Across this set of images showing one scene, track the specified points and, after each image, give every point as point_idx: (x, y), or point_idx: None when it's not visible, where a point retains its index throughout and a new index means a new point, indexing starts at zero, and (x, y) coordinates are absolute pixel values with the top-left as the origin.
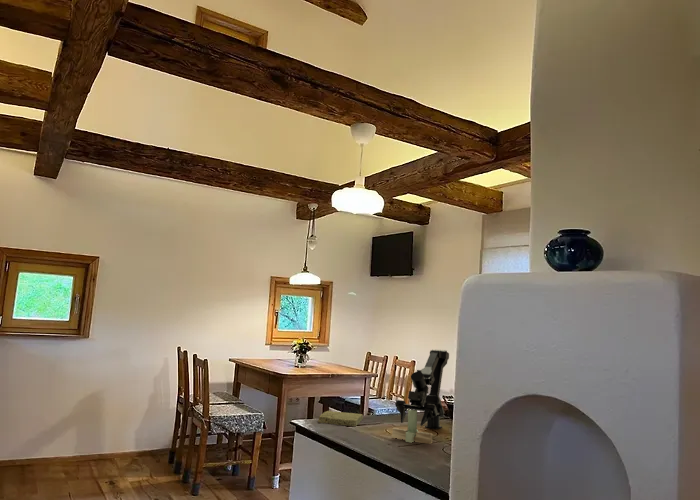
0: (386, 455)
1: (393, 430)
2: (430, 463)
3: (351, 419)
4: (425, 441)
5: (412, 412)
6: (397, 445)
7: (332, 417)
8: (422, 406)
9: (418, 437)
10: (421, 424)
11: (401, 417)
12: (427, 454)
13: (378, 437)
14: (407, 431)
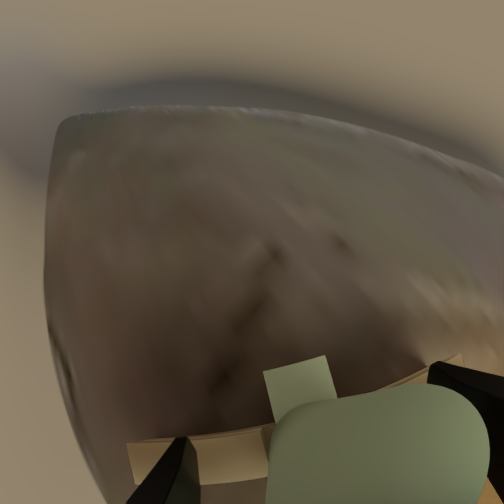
0: (226, 132)
1: (447, 359)
2: (80, 174)
3: None
4: (186, 436)
5: (327, 411)
6: (290, 257)
7: None
8: None
9: (239, 431)
10: (175, 438)
11: (475, 376)
12: (100, 239)
13: (465, 306)
14: None
